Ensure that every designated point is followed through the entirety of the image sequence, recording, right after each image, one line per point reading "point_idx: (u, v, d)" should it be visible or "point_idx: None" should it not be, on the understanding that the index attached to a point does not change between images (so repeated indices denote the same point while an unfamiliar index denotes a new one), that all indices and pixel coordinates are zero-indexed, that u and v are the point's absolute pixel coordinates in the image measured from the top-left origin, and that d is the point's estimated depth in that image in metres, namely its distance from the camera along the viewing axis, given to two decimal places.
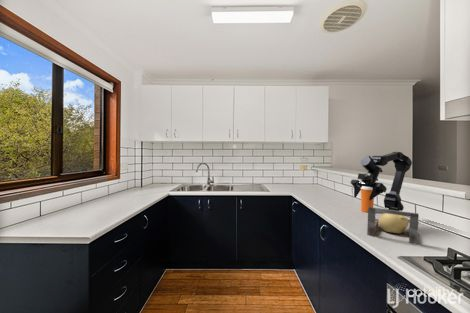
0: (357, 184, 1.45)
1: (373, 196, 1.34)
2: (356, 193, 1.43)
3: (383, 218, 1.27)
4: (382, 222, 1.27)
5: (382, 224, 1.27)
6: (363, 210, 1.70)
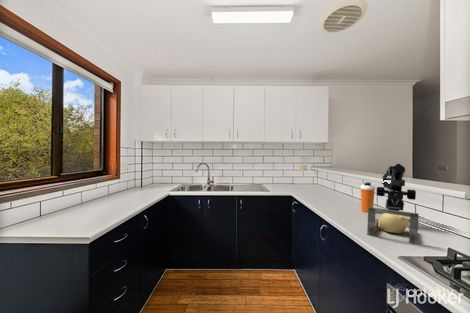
0: None
1: (397, 201, 1.38)
2: None
3: (383, 218, 1.27)
4: (382, 222, 1.27)
5: (382, 224, 1.27)
6: (363, 210, 1.70)
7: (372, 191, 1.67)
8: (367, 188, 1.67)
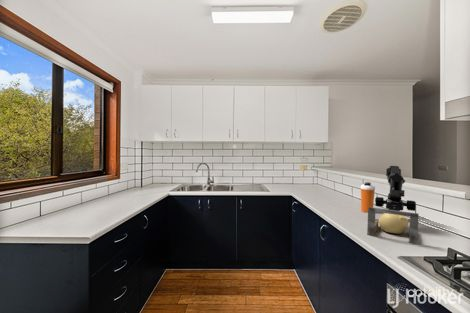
0: None
1: None
2: None
3: (383, 218, 1.26)
4: (382, 222, 1.26)
5: (382, 224, 1.26)
6: (363, 210, 1.70)
7: (372, 191, 1.67)
8: (367, 188, 1.67)
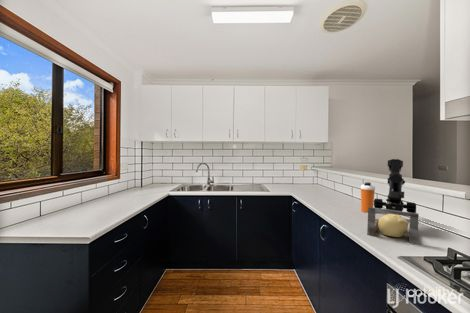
0: None
1: None
2: None
3: (381, 221, 1.22)
4: (380, 225, 1.22)
5: (380, 227, 1.22)
6: (363, 210, 1.70)
7: (372, 191, 1.67)
8: (367, 188, 1.67)
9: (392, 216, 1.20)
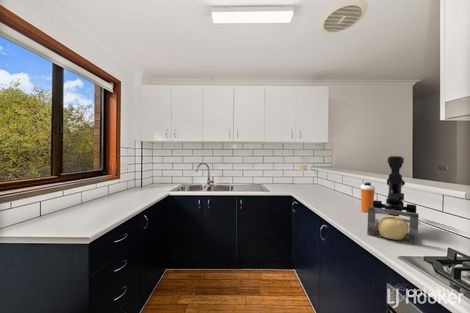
0: None
1: None
2: None
3: (381, 223, 1.18)
4: (380, 227, 1.18)
5: (380, 229, 1.18)
6: (363, 210, 1.70)
7: (372, 191, 1.67)
8: (367, 188, 1.67)
9: (392, 218, 1.16)
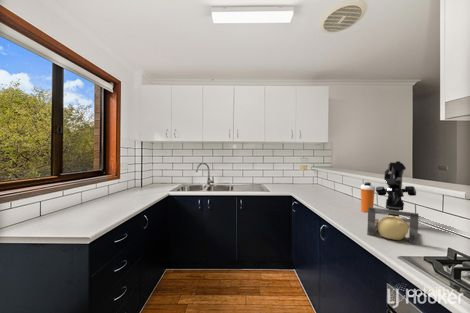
0: None
1: (397, 200, 1.37)
2: None
3: (381, 223, 1.18)
4: (380, 227, 1.18)
5: (380, 229, 1.18)
6: (363, 210, 1.70)
7: (372, 191, 1.67)
8: (367, 188, 1.67)
9: (392, 218, 1.16)
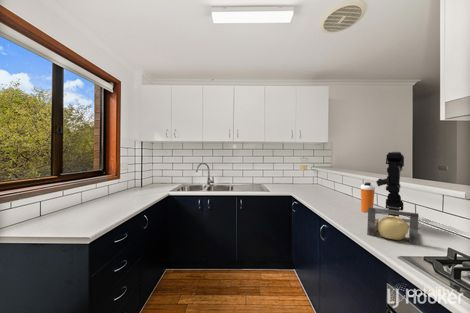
0: None
1: (393, 197, 1.39)
2: None
3: (381, 223, 1.18)
4: (379, 227, 1.18)
5: (379, 229, 1.18)
6: (363, 210, 1.70)
7: (372, 191, 1.67)
8: (367, 188, 1.67)
9: (392, 218, 1.16)
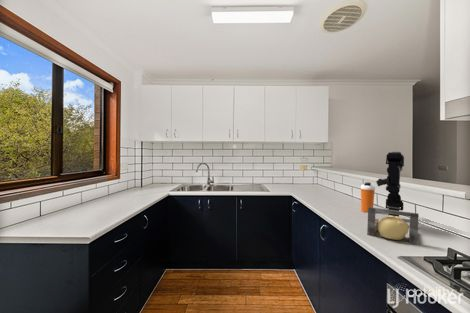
0: None
1: (393, 197, 1.39)
2: None
3: (381, 223, 1.18)
4: (379, 227, 1.18)
5: (379, 229, 1.18)
6: (363, 210, 1.70)
7: (372, 191, 1.67)
8: (367, 188, 1.67)
9: (392, 218, 1.16)
